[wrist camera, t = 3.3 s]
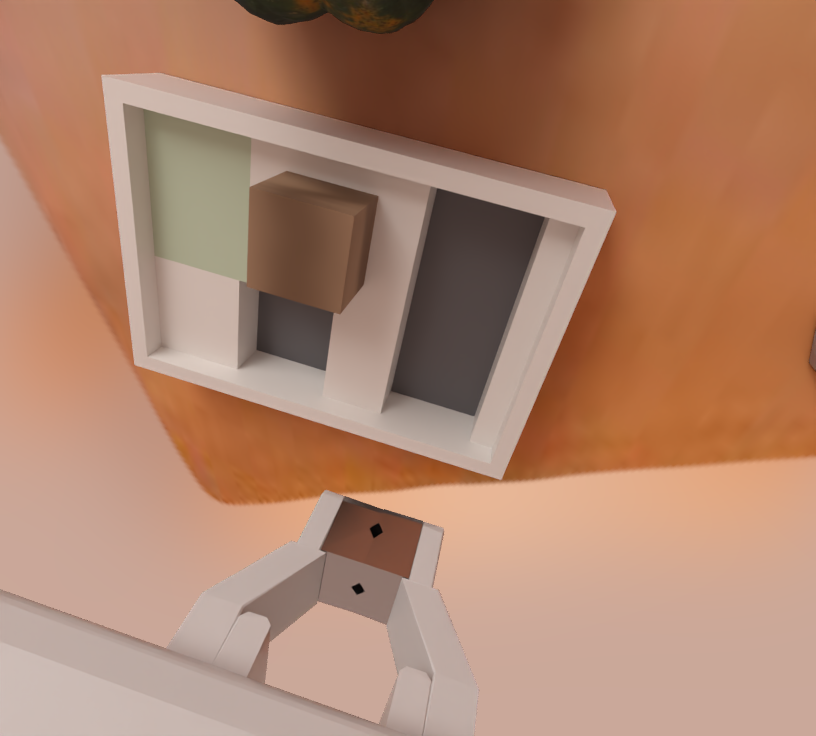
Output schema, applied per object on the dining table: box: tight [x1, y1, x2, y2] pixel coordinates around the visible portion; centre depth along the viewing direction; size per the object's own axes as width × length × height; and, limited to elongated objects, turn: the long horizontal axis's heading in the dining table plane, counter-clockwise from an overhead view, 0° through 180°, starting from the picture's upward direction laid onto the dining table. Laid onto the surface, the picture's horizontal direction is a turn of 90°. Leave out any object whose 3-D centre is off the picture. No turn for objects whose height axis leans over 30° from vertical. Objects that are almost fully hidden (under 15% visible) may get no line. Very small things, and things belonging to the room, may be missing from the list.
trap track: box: [101, 73, 616, 480], centre depth 30 cm, size 25×17×4 cm
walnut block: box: [247, 171, 379, 314], centre depth 26 cm, size 5×5×4 cm
